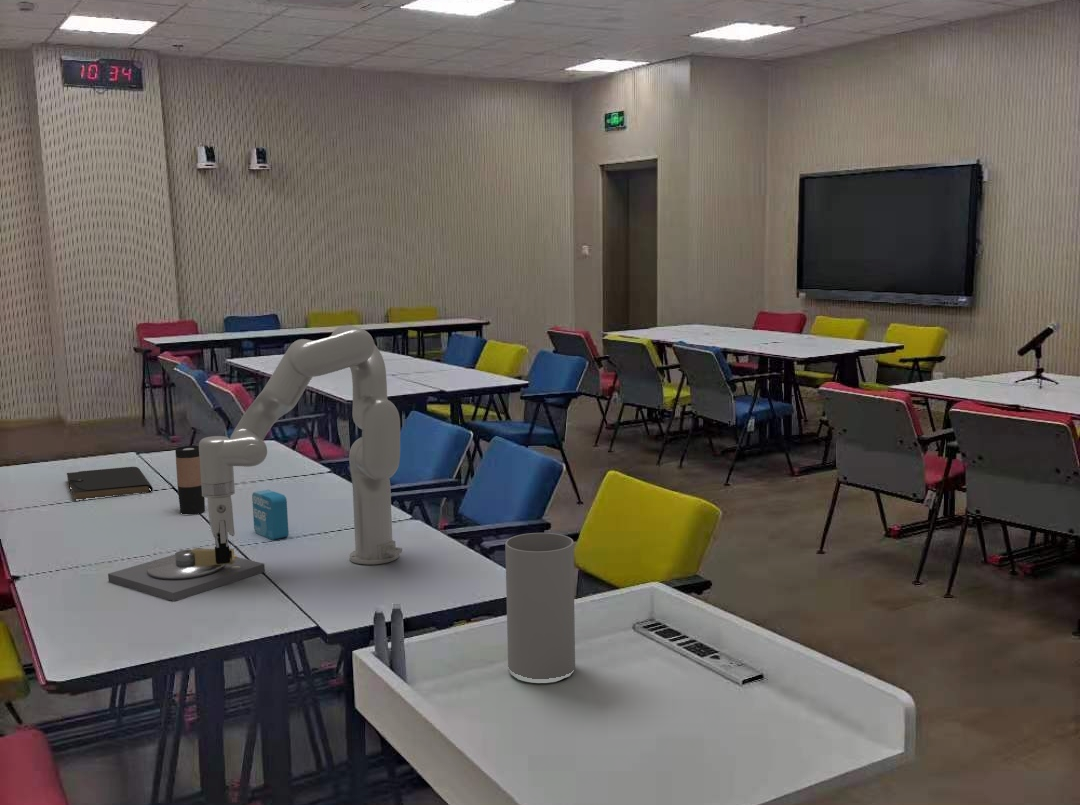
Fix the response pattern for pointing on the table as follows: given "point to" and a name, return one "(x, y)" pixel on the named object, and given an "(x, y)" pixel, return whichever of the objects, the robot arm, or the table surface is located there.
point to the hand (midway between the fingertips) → (223, 562)
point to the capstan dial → (187, 564)
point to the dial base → (184, 587)
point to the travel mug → (189, 480)
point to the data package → (270, 514)
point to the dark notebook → (107, 482)
